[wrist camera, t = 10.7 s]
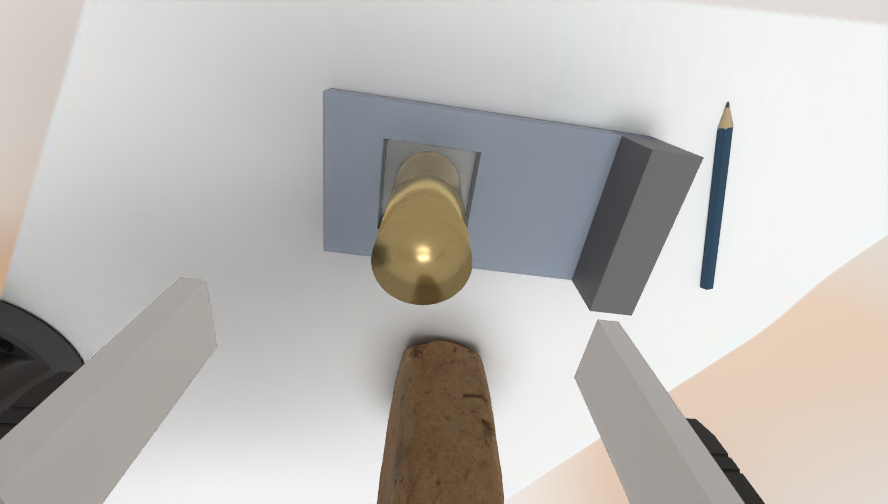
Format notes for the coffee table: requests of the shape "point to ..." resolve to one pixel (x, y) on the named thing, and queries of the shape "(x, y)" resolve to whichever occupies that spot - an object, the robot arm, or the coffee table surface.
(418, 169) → the brass cylinder rod
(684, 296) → the coffee table surface
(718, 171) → the pencil
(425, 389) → the block
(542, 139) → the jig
